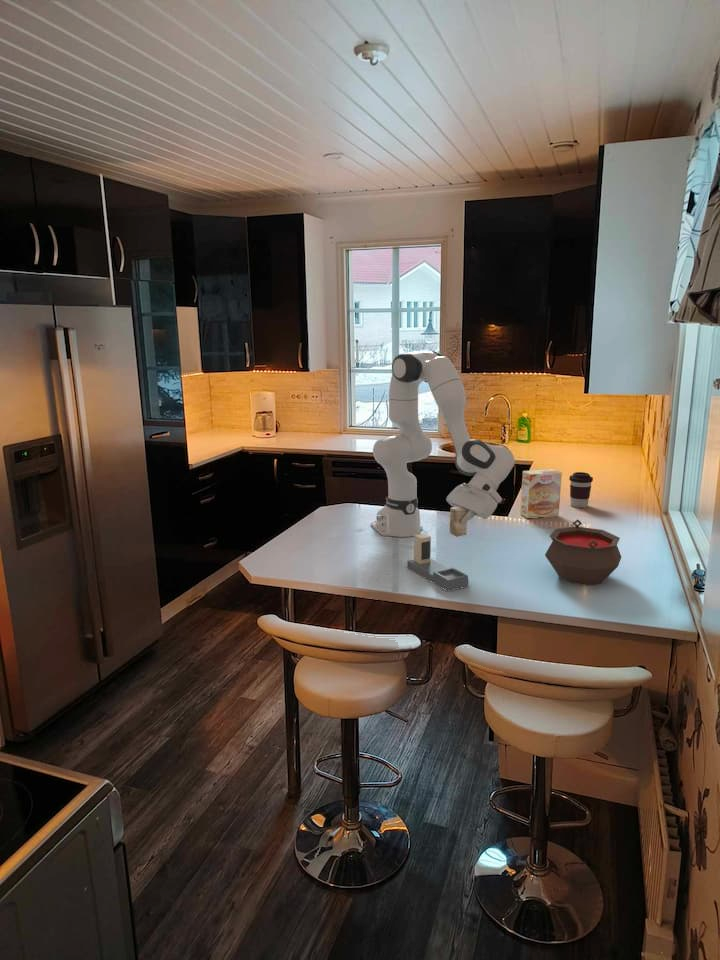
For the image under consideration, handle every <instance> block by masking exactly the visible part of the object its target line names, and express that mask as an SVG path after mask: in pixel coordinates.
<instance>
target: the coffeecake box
mask: <svg viewBox="0 0 720 960" xmlns="http://www.w3.org/2000/svg"><path fill="white" fill-rule="evenodd" d="M562 475H563V473H562V472H561V471H559V470H557V469H555V468H551V469H535V470H522V477H521V478H522V481H521V496H520V511H519V512H520V513H519V514H521V516H522V515H523V516H522V517H524V516H525V517H526V518H525V517H524V518H525V519H527V518H532V519H539V518H538V517H544V518H554V516H557V517H559V514H560V501H561V490H562V489H561V488H562V478H563V477H562Z"/></svg>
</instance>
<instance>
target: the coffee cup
mask: <svg viewBox="0 0 720 960" xmlns="http://www.w3.org/2000/svg"><path fill="white" fill-rule="evenodd" d="M568 480H569V481H570V485H569V496H570V506H571V507H573V506H574V507H573V508H576V507H585V508H588V507H589V506H588V504H589V501H590V495H591V489H592V482H593V481H594V478H593V477H592V476H591V475H590V473H588V472H582V471H576V472H573V474H571V475H570V476H569V479H568Z"/></svg>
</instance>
